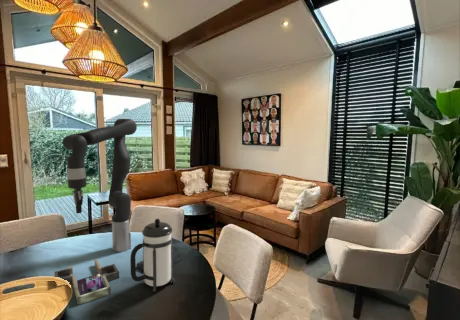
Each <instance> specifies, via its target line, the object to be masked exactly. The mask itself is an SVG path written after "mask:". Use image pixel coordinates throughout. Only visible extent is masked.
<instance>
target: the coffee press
mask: <svg viewBox="0 0 460 320" xmlns="http://www.w3.org/2000/svg"><path fill="white" fill-rule="evenodd" d="M141 232H142V233H141V235H142V236H143V237H142V243H138V244H137V245H135V246H134V248H133V249H132V250H131V253H130V277H131V279H132V280H133V281H135V282H140V283H141V284H142V285H144V284H146V285H148V286H150V287H152V293H157V290H158V287H162V286H164V285H166V284H168V283H169V282H170V283H171V284H172V282H173V284H175V281H176V278H174V275H173V266H172V248H173V237H172V232H173V228H172V226H171V225H170V224H169V223H167V222H164V221H161V220H160V218H156V219H155V220H154V222H151V223H148V224H147V225H145V226H144V227H143V229H142V231H141ZM142 248H143V249H142ZM141 249H142V253H143V254H142V256H143V260H142V261H143V262H144V271H143V274H142V275H140V276H138V275H137V262H136V255H137V253H138V251H139V250H141ZM143 282H144V283H143Z"/></svg>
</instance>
